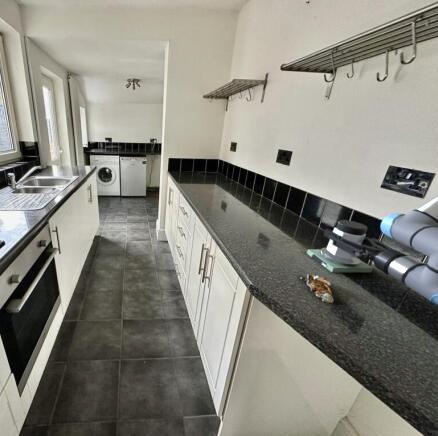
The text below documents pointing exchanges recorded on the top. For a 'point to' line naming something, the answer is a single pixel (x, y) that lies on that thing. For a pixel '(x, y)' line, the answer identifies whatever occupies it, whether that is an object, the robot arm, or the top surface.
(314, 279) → the pastry
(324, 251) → the weighing pan
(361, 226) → the jar
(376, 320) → the top surface
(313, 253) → the kitchen scale
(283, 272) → the top surface
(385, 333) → the top surface
